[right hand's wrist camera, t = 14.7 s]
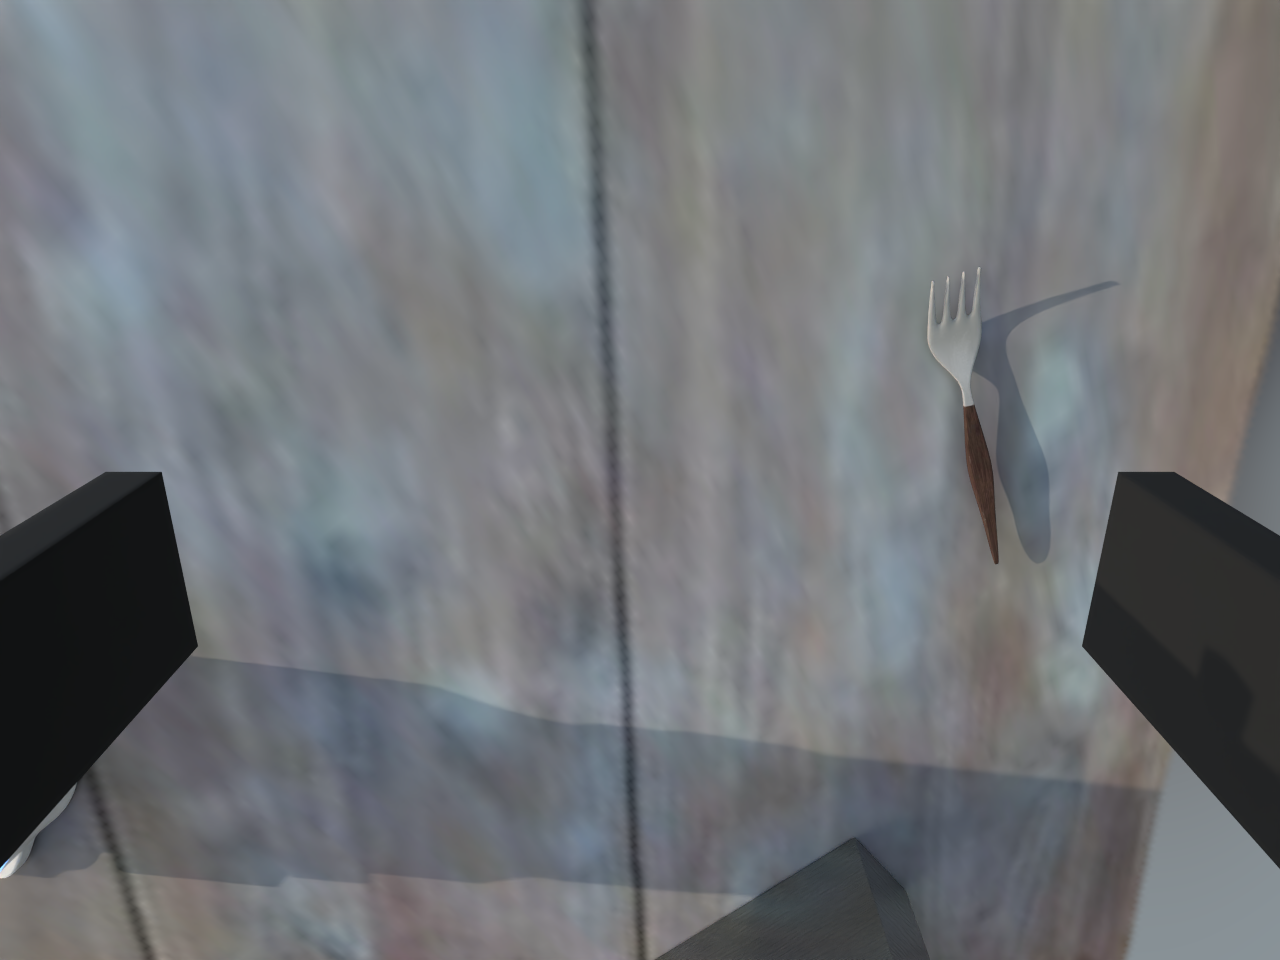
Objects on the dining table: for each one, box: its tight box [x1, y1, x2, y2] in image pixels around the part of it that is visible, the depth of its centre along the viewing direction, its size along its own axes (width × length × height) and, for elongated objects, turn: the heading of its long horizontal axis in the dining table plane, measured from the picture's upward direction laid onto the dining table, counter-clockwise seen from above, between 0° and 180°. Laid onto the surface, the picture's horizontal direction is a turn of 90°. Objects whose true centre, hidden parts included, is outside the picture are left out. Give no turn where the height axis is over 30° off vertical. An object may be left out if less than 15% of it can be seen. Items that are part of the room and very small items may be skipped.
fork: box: [927, 267, 999, 564], centre depth 43 cm, size 3×16×2 cm, turn 17°
